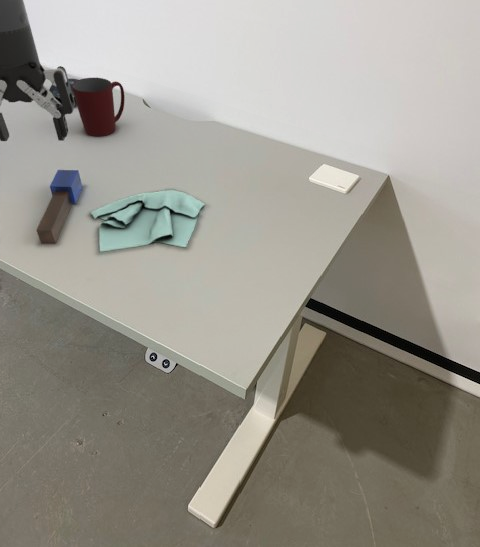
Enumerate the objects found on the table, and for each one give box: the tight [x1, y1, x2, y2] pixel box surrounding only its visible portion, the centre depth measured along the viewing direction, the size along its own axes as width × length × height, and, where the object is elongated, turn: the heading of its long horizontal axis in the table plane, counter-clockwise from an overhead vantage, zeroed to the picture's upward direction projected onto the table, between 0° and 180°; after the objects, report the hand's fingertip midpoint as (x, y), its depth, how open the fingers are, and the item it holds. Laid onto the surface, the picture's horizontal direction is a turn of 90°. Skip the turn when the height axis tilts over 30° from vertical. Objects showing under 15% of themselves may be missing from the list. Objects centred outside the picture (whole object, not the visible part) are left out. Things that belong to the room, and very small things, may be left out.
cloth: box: [91, 189, 205, 253], centre depth 79 cm, size 20×22×2 cm
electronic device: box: [48, 77, 79, 106], centre depth 117 cm, size 9×6×15 cm
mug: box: [72, 77, 125, 137], centre depth 102 cm, size 12×9×11 cm
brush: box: [36, 169, 84, 245], centre depth 78 cm, size 4×18×4 cm, turn 3°
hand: (34, 138), depth 66 cm, fingers open, 8 cm apart
